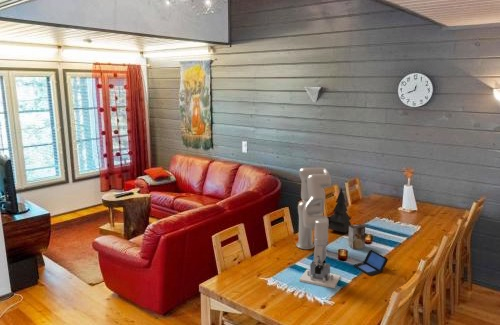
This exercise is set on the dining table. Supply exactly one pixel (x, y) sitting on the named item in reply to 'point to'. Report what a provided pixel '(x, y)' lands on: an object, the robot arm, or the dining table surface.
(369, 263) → the handheld game console
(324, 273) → the block
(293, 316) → the dining table surface
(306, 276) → the pin tray
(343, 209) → the decorative tree
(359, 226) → the coffee box
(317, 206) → the robot arm
